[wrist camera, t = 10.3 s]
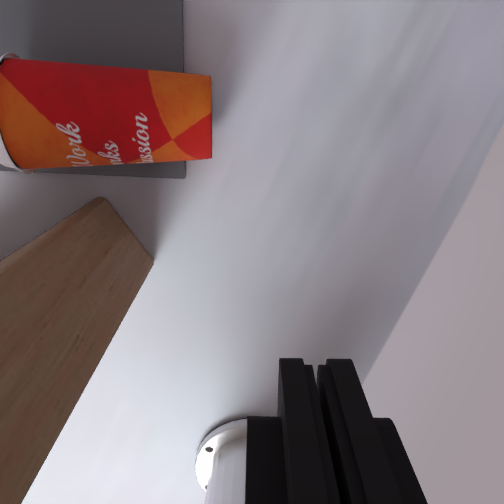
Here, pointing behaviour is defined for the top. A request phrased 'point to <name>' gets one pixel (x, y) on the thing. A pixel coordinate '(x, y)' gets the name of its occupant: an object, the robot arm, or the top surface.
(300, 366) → the robot arm
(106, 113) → the paper cup
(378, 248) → the top surface
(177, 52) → the mat
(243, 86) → the top surface
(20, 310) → the decorative block
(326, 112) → the top surface
